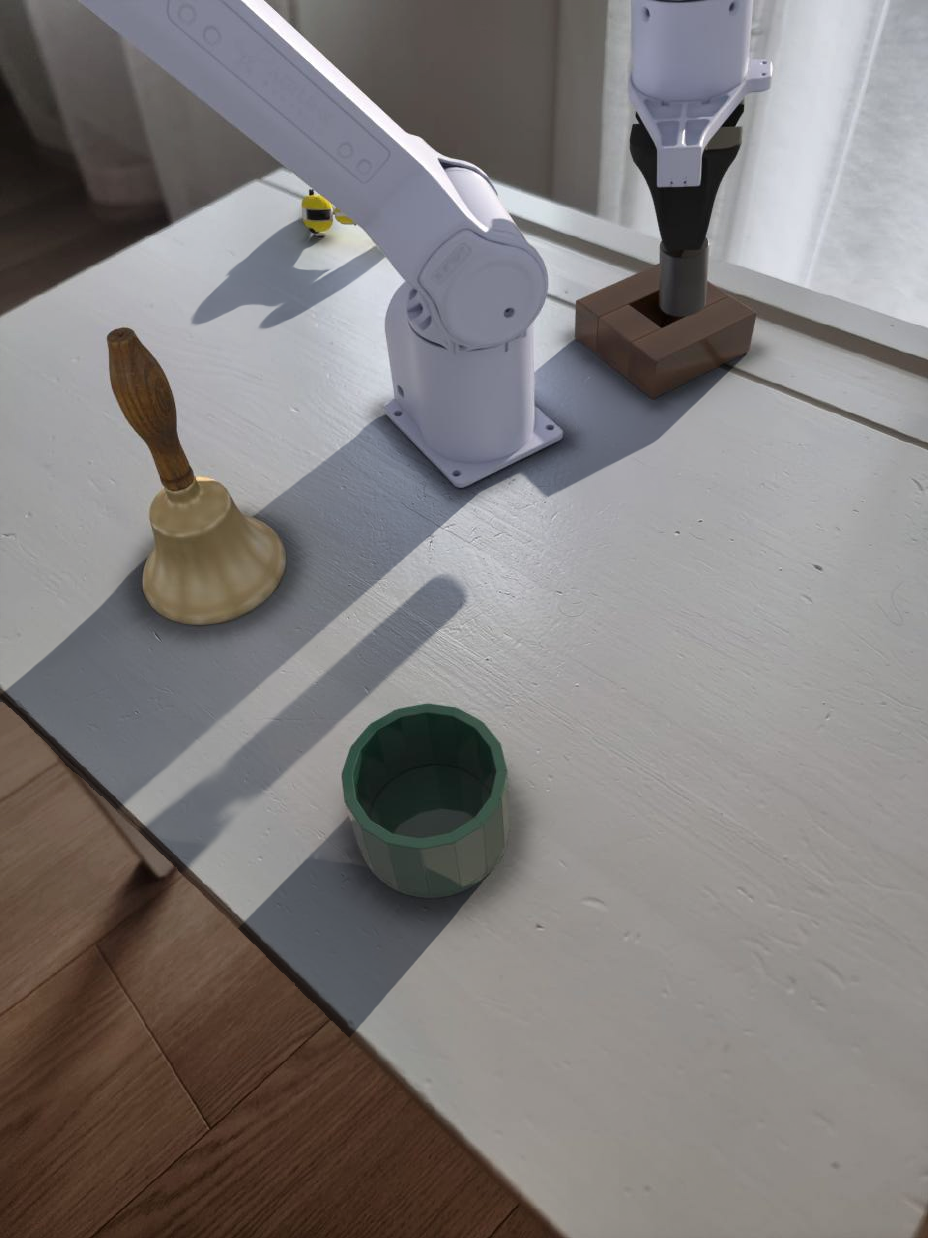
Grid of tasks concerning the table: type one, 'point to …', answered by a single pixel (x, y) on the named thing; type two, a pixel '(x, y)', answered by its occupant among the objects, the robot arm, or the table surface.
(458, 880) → the cup
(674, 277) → the peg-topped grey cylinder
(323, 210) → the yellow segmented toy
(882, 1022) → the table surface
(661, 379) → the frame
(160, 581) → the hand bell
